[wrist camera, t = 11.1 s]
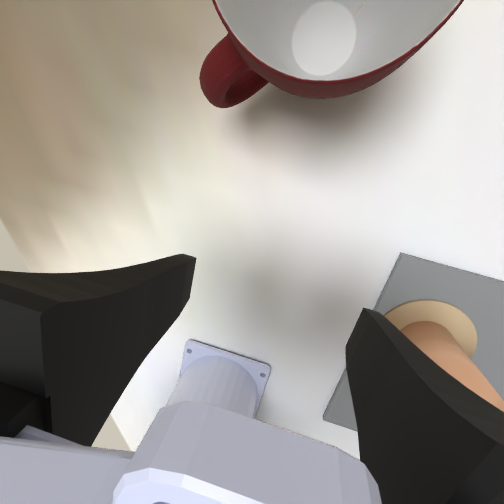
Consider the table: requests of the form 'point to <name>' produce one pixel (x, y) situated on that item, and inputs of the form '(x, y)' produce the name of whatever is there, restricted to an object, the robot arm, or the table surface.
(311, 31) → the mug
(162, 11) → the table surface
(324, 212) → the table surface
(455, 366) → the terracotta cylinder
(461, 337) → the cork pad
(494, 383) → the felt mat
